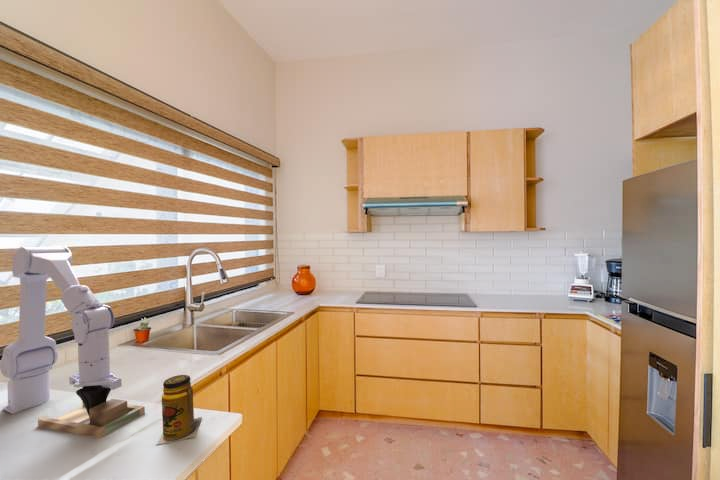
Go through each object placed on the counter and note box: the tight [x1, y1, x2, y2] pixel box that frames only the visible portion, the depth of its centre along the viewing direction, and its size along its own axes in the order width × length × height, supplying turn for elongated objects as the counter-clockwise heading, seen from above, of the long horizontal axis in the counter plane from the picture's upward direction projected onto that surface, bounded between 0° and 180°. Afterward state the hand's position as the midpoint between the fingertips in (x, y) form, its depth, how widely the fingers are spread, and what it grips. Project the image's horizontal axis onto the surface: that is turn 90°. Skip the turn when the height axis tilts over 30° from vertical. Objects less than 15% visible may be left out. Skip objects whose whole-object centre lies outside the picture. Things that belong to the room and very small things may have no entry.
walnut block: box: [89, 398, 128, 427], centre depth 75 cm, size 5×5×4 cm
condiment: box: [156, 374, 203, 445], centre depth 72 cm, size 7×8×12 cm
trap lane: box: [37, 400, 146, 439], centre depth 76 cm, size 20×10×2 cm, turn 73°
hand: (96, 416), depth 76 cm, fingers closed
